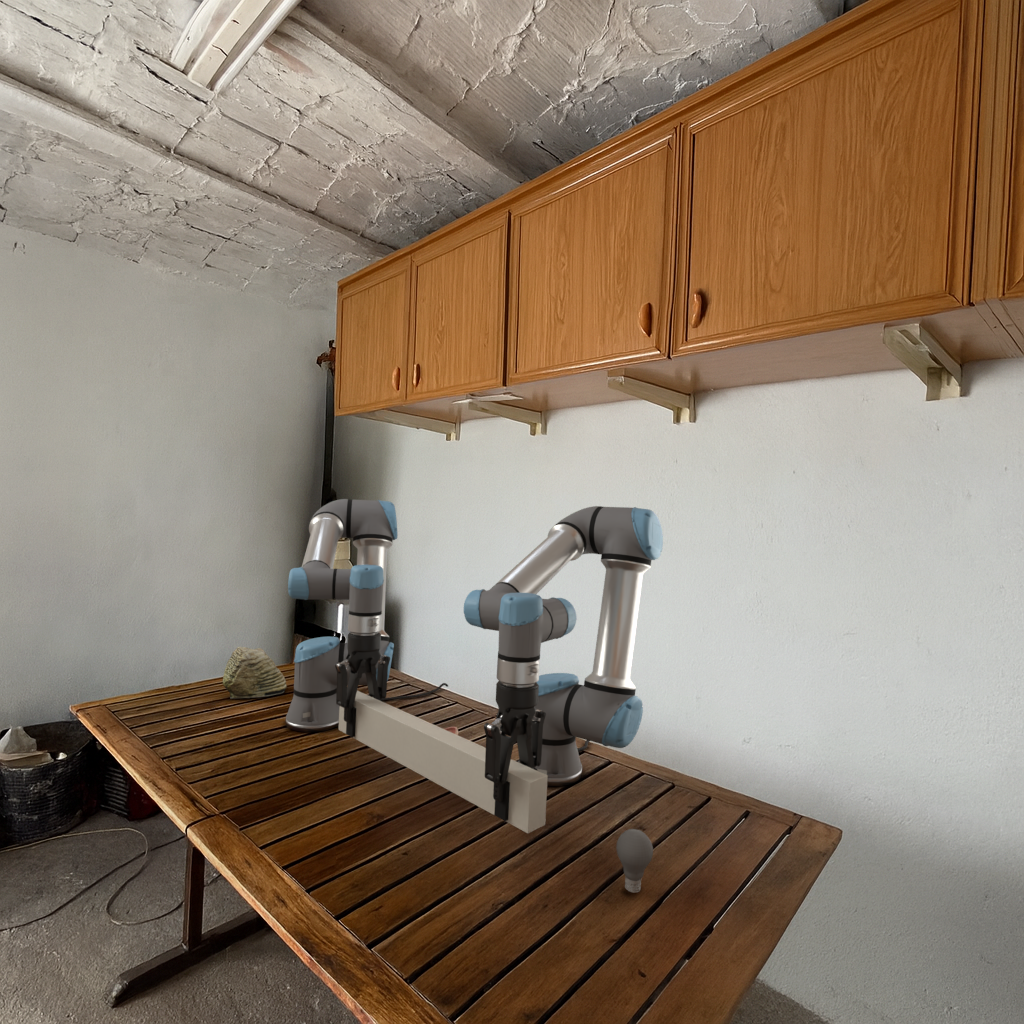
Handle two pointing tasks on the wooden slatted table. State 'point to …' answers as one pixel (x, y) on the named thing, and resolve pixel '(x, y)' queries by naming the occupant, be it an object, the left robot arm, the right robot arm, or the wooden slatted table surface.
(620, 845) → the light bulb
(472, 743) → the bar
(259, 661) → the fossil
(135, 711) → the wooden slatted table surface
